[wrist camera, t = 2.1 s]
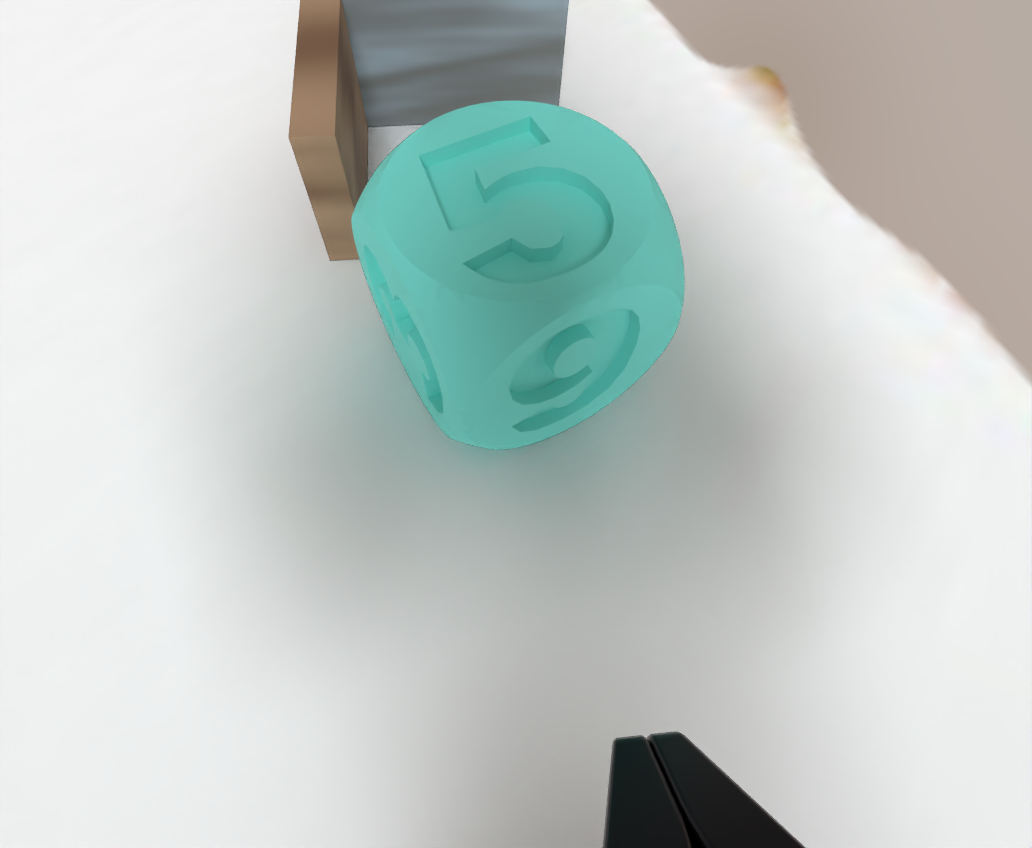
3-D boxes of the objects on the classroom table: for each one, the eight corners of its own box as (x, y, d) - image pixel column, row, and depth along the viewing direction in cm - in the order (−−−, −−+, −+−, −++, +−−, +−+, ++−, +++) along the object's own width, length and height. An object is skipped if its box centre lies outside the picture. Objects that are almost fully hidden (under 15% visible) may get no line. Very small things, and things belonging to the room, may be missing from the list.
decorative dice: (548, 244, 28) (566, 66, 20) (654, 388, 24) (720, 238, 17) (373, 316, 26) (326, 147, 18) (465, 482, 23) (451, 356, 15)
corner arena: (581, 246, 27) (602, 123, 22) (330, 260, 27) (288, 137, 21) (553, 97, 32) (565, -36, 26) (336, 106, 31) (302, -29, 26)
